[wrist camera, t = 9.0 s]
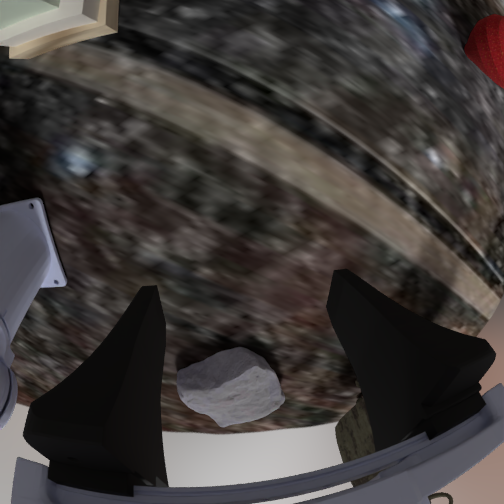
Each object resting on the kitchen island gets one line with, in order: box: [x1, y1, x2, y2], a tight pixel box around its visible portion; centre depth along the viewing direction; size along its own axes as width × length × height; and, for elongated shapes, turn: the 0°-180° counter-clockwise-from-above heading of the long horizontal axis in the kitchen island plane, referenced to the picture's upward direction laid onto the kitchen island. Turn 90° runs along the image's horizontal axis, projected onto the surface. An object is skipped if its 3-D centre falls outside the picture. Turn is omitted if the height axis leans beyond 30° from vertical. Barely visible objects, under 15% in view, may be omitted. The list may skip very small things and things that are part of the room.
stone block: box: [177, 347, 285, 427], centre depth 31 cm, size 12×5×10 cm
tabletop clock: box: [335, 379, 453, 504], centre depth 27 cm, size 14×9×25 cm, turn 156°
